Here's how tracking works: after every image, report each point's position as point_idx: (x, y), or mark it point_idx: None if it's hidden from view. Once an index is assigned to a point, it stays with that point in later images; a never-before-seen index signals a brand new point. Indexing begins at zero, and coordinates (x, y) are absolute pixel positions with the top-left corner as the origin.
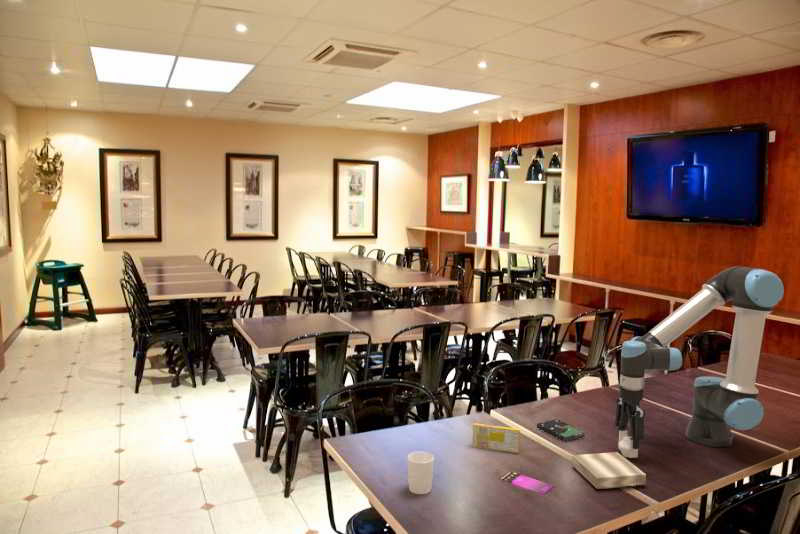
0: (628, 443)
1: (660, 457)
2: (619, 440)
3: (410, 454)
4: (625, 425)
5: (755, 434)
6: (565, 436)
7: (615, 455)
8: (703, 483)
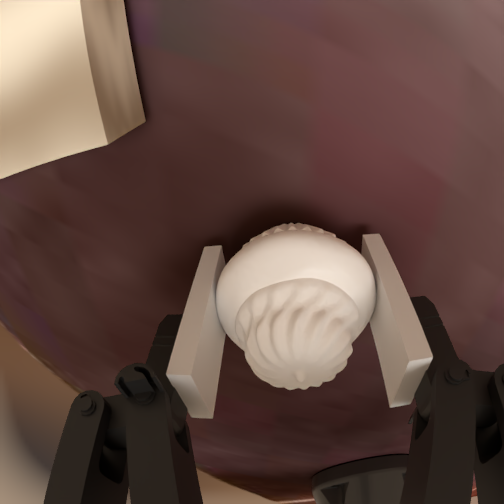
0: (246, 321)
1: (260, 381)
2: (388, 282)
3: None
4: (413, 448)
5: None
6: None
7: (36, 104)
8: (61, 378)
